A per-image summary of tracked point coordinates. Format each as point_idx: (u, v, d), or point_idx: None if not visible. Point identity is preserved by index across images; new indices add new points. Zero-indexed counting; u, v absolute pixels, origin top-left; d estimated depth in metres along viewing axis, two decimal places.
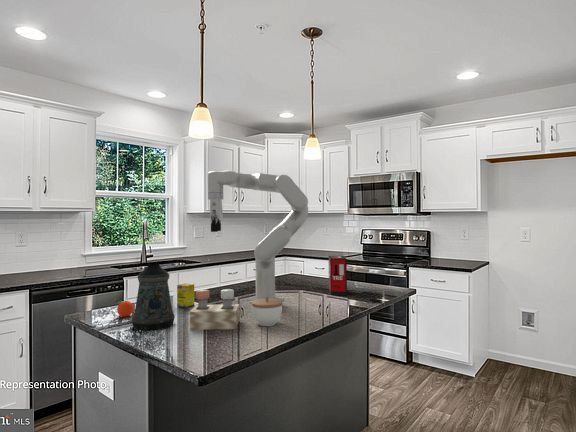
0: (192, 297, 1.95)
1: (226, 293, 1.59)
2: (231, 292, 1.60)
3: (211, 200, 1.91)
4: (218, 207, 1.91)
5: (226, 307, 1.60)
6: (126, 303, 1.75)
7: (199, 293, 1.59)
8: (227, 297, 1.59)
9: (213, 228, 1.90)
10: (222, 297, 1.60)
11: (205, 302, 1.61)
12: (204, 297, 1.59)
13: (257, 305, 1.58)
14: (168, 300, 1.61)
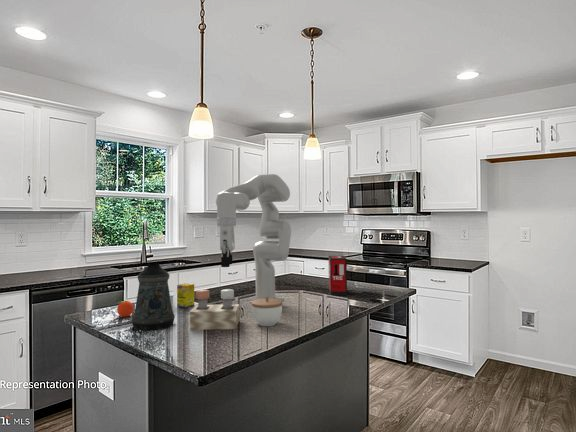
0: (192, 297, 1.95)
1: (226, 293, 1.59)
2: (231, 292, 1.60)
3: (221, 228, 1.58)
4: (230, 236, 1.57)
5: (226, 307, 1.60)
6: (126, 303, 1.75)
7: (199, 293, 1.59)
8: (227, 297, 1.59)
9: (224, 263, 1.56)
10: (222, 297, 1.60)
11: (205, 302, 1.61)
12: (204, 297, 1.59)
13: (257, 305, 1.58)
14: (168, 300, 1.61)
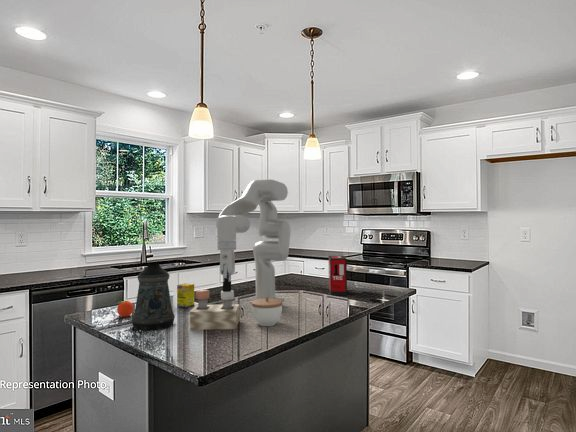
0: (192, 297, 1.95)
1: (226, 294, 1.59)
2: (231, 293, 1.60)
3: (222, 252, 1.57)
4: (230, 260, 1.57)
5: (226, 308, 1.60)
6: (126, 303, 1.75)
7: (199, 293, 1.59)
8: (227, 298, 1.59)
9: (226, 288, 1.60)
10: (222, 298, 1.60)
11: (205, 302, 1.61)
12: (204, 297, 1.59)
13: (257, 305, 1.58)
14: (168, 300, 1.61)
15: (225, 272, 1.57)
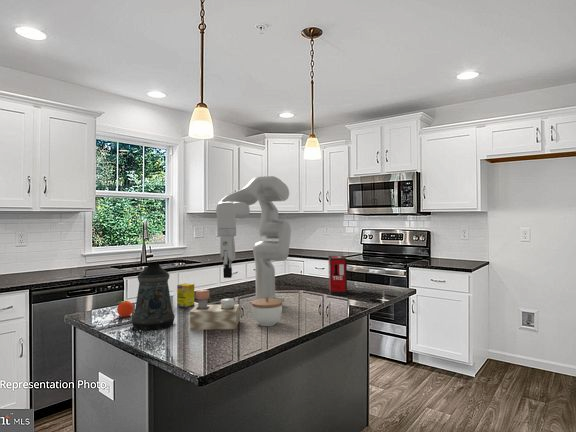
0: (192, 297, 1.95)
1: (226, 302, 1.59)
2: (231, 301, 1.60)
3: (222, 238, 1.58)
4: (230, 247, 1.57)
5: None
6: (126, 303, 1.75)
7: (199, 293, 1.59)
8: (227, 306, 1.59)
9: (226, 274, 1.61)
10: (222, 306, 1.60)
11: (205, 302, 1.61)
12: (204, 297, 1.59)
13: (257, 305, 1.58)
14: (168, 300, 1.61)
15: (225, 258, 1.57)
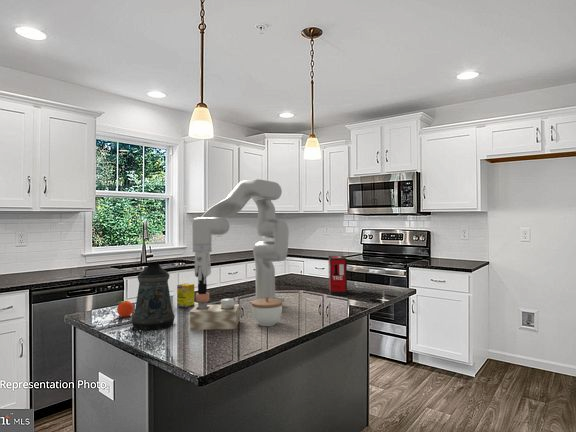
0: (192, 297, 1.95)
1: (226, 302, 1.59)
2: (231, 301, 1.60)
3: (196, 254, 1.57)
4: (205, 263, 1.57)
5: None
6: (126, 303, 1.75)
7: (199, 296, 1.59)
8: (227, 306, 1.59)
9: (201, 290, 1.60)
10: (222, 306, 1.60)
11: (205, 305, 1.61)
12: (204, 300, 1.59)
13: (257, 305, 1.58)
14: (168, 300, 1.61)
15: (199, 274, 1.57)
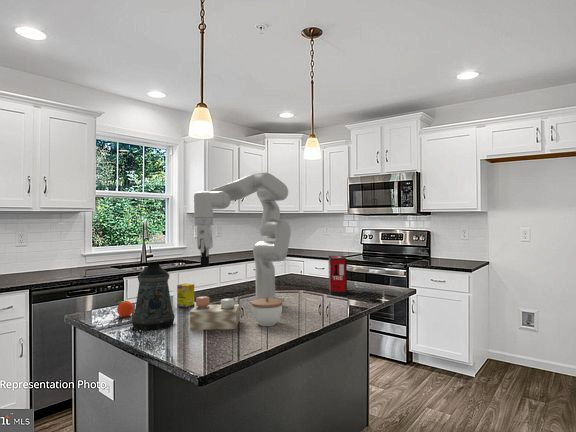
0: (192, 297, 1.95)
1: (226, 302, 1.59)
2: (231, 301, 1.60)
3: (198, 227, 1.60)
4: (207, 235, 1.60)
5: None
6: (126, 303, 1.75)
7: (199, 300, 1.59)
8: (227, 306, 1.59)
9: (203, 262, 1.63)
10: (222, 306, 1.60)
11: None
12: (204, 304, 1.59)
13: (257, 305, 1.58)
14: (168, 300, 1.61)
15: (202, 247, 1.60)
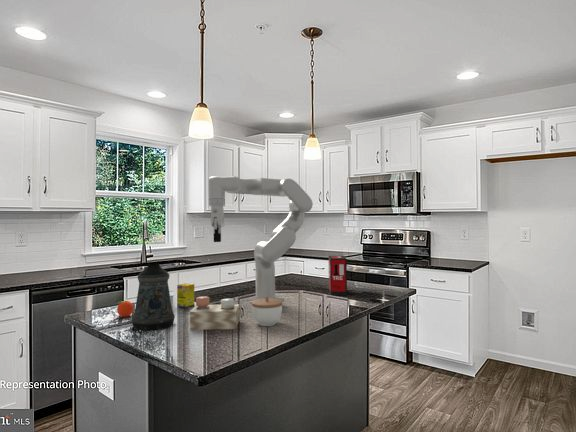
0: (192, 297, 1.95)
1: (226, 302, 1.59)
2: (231, 301, 1.60)
3: (212, 207, 1.83)
4: (219, 214, 1.83)
5: None
6: (126, 303, 1.75)
7: (199, 300, 1.59)
8: (227, 306, 1.59)
9: (216, 238, 1.86)
10: (222, 306, 1.60)
11: None
12: (204, 304, 1.59)
13: (257, 305, 1.58)
14: (168, 300, 1.61)
15: (215, 224, 1.83)
